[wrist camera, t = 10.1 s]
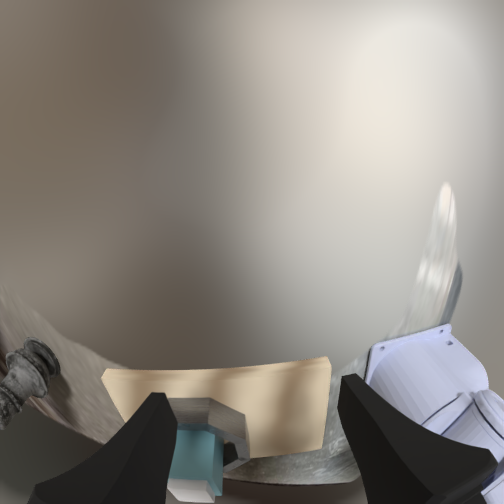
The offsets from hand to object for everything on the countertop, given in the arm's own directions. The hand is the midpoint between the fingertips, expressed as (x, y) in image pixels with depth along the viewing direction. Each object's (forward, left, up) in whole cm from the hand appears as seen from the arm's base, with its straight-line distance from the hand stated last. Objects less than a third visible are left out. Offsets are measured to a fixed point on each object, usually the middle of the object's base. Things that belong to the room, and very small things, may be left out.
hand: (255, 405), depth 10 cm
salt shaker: (+23, +6, -11) cm, 26 cm away
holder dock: (+4, +13, -10) cm, 17 cm away
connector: (+6, +13, -9) cm, 17 cm away
